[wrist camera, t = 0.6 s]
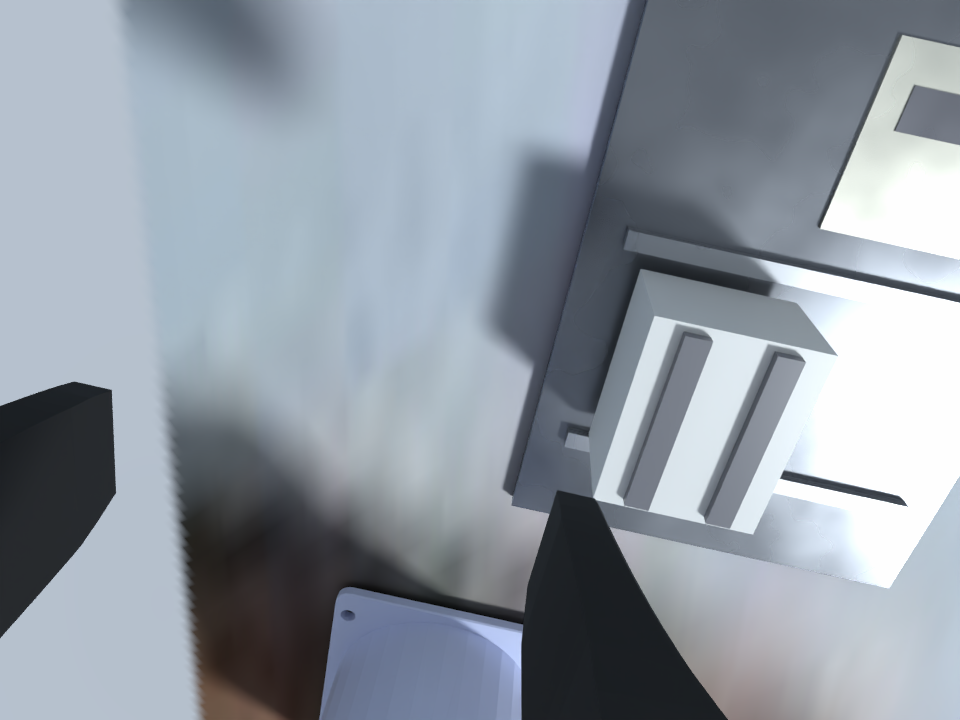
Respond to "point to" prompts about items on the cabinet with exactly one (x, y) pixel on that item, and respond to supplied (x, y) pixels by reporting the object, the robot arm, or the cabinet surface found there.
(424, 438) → the cabinet surface
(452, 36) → the cabinet surface
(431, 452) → the cabinet surface
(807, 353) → the white grey striped block
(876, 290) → the label board
